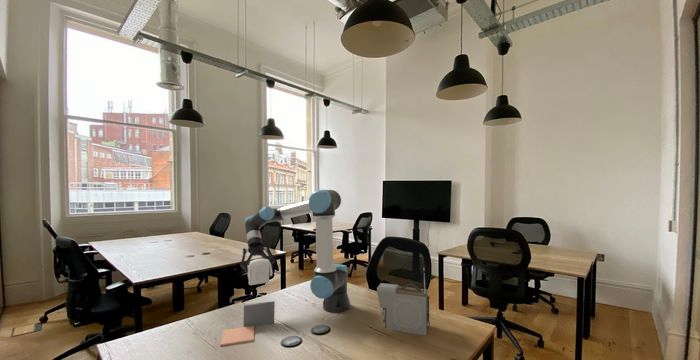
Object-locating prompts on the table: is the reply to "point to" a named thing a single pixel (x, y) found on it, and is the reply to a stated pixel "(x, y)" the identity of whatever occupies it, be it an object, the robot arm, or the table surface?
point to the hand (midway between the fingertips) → (260, 276)
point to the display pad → (237, 335)
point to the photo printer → (259, 271)
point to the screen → (259, 314)
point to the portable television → (404, 307)
